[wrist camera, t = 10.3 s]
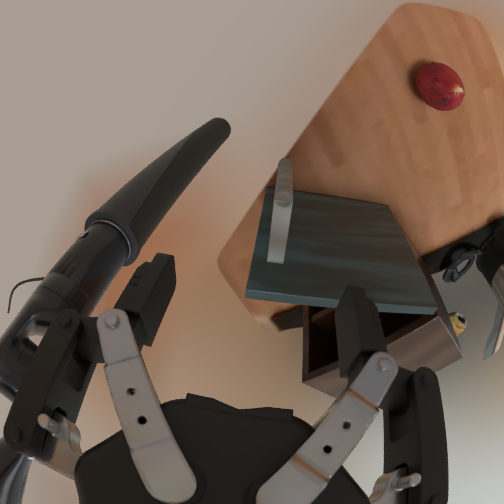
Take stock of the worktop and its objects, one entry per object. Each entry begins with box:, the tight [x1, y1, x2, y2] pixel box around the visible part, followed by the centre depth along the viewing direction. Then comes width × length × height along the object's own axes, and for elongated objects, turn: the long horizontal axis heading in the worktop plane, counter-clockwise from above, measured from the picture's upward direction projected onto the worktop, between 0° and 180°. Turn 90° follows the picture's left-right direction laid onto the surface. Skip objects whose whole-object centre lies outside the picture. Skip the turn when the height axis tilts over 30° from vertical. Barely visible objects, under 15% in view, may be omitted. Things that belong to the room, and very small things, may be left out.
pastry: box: [448, 312, 467, 336], centre depth 47 cm, size 9×7×4 cm
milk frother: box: [443, 225, 504, 311], centre depth 31 cm, size 14×16×15 cm
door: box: [246, 158, 438, 315], centre depth 26 cm, size 8×17×19 cm, turn 87°
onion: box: [417, 62, 465, 111], centre depth 20 cm, size 6×6×8 cm
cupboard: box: [302, 225, 463, 398], centre depth 34 cm, size 12×17×19 cm
